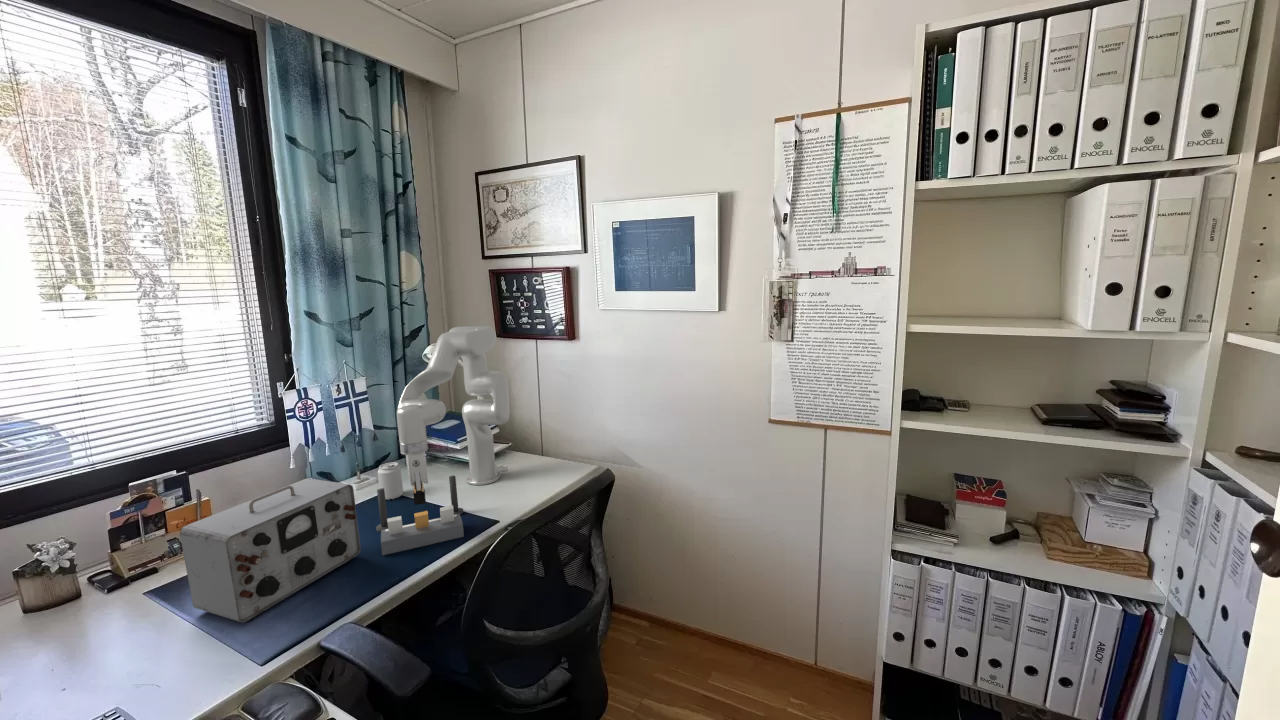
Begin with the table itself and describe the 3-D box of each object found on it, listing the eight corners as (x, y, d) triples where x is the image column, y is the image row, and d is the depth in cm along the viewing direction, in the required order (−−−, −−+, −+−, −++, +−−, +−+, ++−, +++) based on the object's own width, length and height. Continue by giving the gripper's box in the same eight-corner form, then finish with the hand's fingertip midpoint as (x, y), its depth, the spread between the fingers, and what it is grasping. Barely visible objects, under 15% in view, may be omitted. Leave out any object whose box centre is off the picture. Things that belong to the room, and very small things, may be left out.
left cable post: (393, 523, 163) (389, 485, 161) (393, 529, 158) (389, 490, 156) (376, 526, 161) (371, 488, 159) (375, 533, 156) (371, 494, 154)
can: (397, 500, 180) (393, 468, 178) (376, 501, 180) (372, 468, 178) (407, 491, 187) (404, 460, 185) (387, 492, 187) (383, 461, 185)
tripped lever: (428, 522, 152) (427, 510, 148) (429, 526, 151) (428, 514, 147) (415, 525, 150) (414, 513, 147) (415, 529, 149) (414, 516, 146)
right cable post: (462, 508, 172) (459, 472, 170) (464, 514, 167) (461, 477, 165) (446, 511, 170) (443, 475, 168) (448, 518, 165) (444, 480, 163)
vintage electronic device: (246, 632, 113) (229, 527, 109) (194, 616, 119) (176, 516, 115) (367, 558, 142) (356, 473, 138) (320, 548, 148) (309, 466, 144)
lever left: (402, 528, 149) (401, 515, 145) (403, 531, 148) (401, 519, 144) (389, 531, 147) (387, 518, 144) (389, 534, 146) (387, 522, 143)
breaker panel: (460, 525, 160) (459, 513, 159) (463, 536, 153) (462, 523, 152) (382, 542, 150) (381, 529, 150) (382, 555, 143) (380, 541, 143)
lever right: (453, 517, 155) (452, 505, 151) (453, 520, 154) (453, 508, 150) (440, 520, 153) (439, 507, 150) (441, 523, 152) (440, 511, 149)
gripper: (429, 451, 148) (435, 510, 151) (425, 437, 162) (431, 491, 165) (400, 455, 145) (407, 515, 148) (399, 441, 158) (406, 496, 161)
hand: (420, 503), depth 156 cm, fingers closed
